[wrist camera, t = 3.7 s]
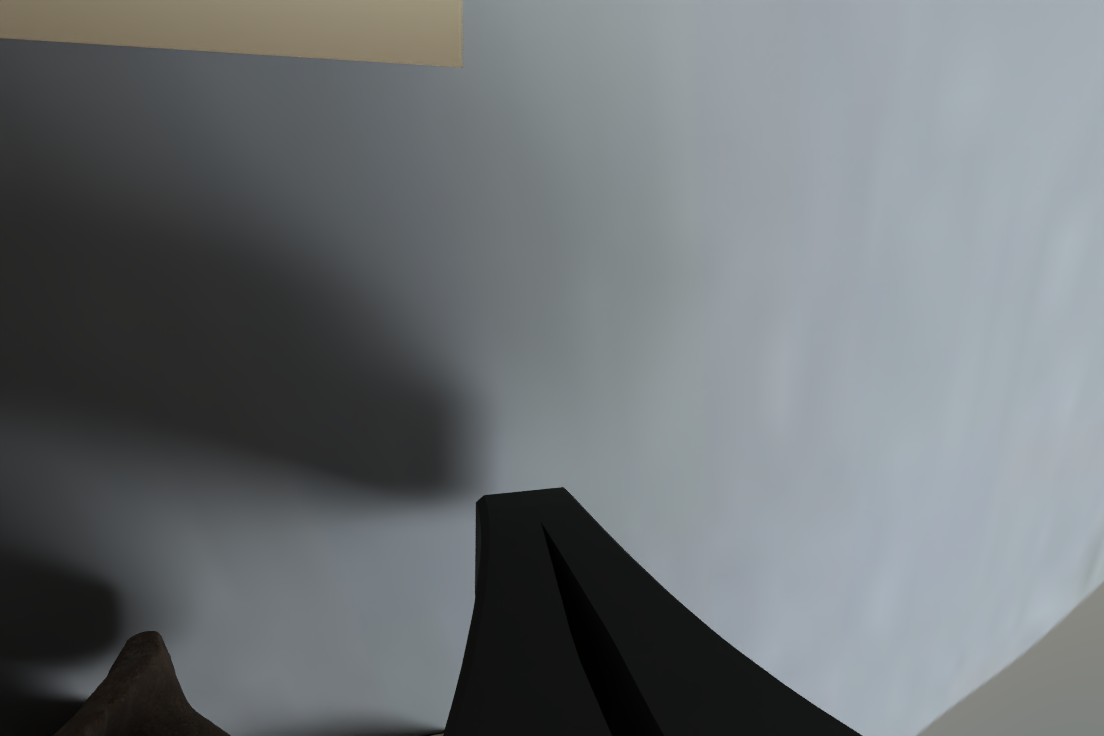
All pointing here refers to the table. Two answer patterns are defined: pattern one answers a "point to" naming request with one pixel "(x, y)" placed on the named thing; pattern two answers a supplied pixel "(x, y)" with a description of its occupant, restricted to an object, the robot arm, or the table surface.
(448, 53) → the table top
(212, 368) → the table surface
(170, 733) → the pottery mug
